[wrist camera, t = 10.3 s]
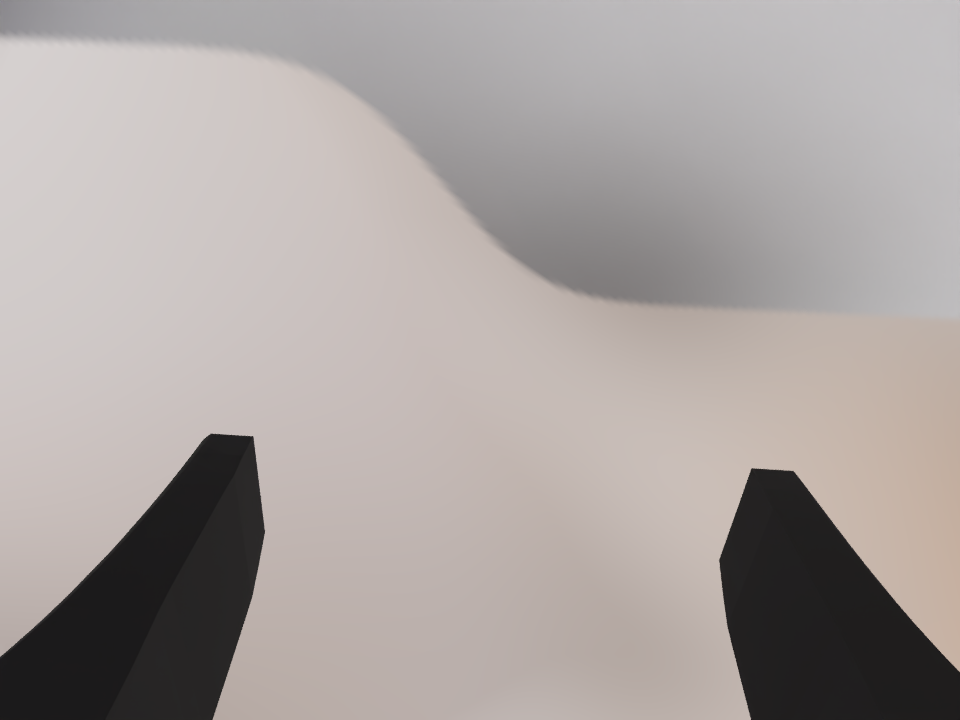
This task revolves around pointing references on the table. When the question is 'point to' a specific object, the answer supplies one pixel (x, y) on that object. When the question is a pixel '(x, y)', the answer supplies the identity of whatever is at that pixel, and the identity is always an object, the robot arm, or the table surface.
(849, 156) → the table surface
